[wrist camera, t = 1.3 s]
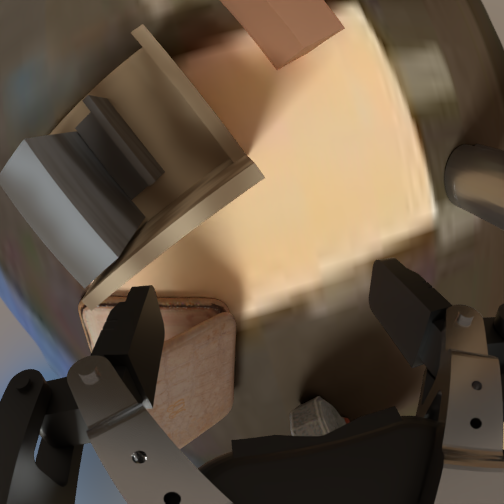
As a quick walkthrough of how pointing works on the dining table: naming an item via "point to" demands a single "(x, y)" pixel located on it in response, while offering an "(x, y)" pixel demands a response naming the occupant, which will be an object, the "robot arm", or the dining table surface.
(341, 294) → the dining table surface
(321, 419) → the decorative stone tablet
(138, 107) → the shelf
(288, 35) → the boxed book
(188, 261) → the dining table surface
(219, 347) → the case
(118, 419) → the robot arm
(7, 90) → the dining table surface
